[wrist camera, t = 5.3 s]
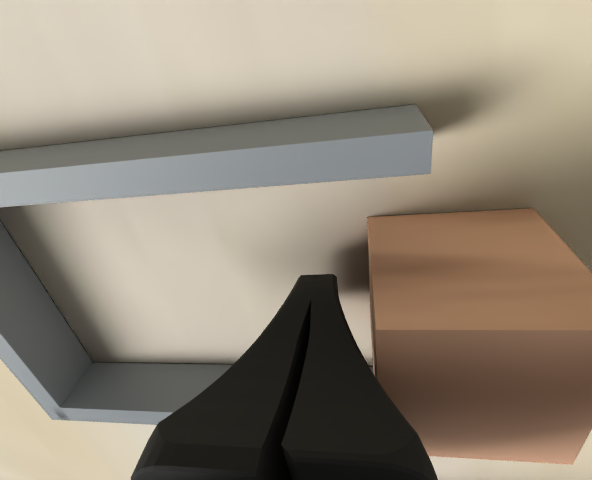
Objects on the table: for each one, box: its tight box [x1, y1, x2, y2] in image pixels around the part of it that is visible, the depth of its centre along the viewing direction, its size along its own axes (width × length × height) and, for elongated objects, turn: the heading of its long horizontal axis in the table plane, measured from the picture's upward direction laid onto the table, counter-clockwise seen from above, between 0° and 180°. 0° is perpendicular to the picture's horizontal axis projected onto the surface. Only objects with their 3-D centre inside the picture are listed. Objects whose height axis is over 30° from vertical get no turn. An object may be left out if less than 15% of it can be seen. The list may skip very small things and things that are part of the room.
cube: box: [367, 208, 592, 465], centre depth 11 cm, size 5×5×5 cm
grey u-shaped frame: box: [0, 104, 433, 425], centre depth 13 cm, size 12×16×2 cm
